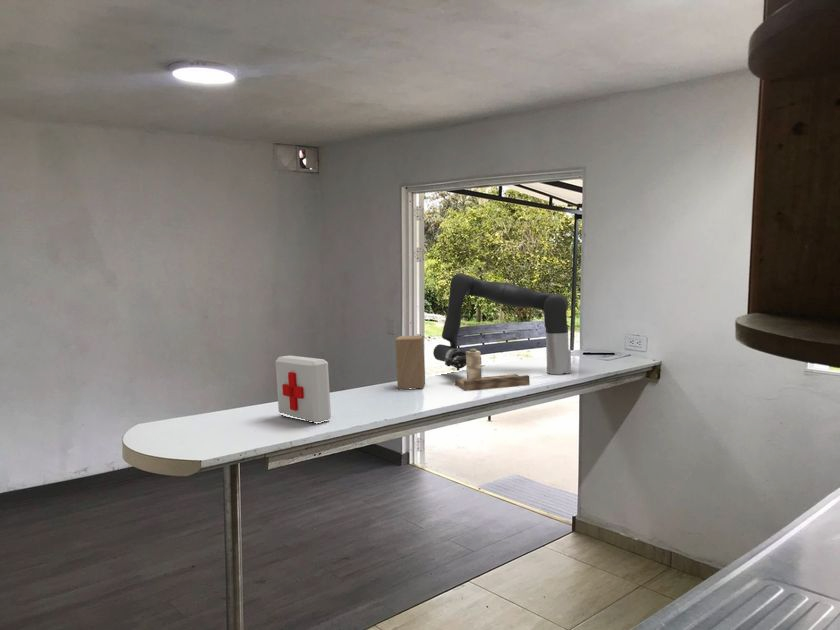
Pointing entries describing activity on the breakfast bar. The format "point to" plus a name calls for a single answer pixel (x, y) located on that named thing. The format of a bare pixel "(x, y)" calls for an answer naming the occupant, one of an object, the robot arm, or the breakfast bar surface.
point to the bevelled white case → (303, 388)
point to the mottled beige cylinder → (473, 364)
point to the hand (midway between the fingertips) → (468, 363)
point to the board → (488, 386)
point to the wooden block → (410, 362)
